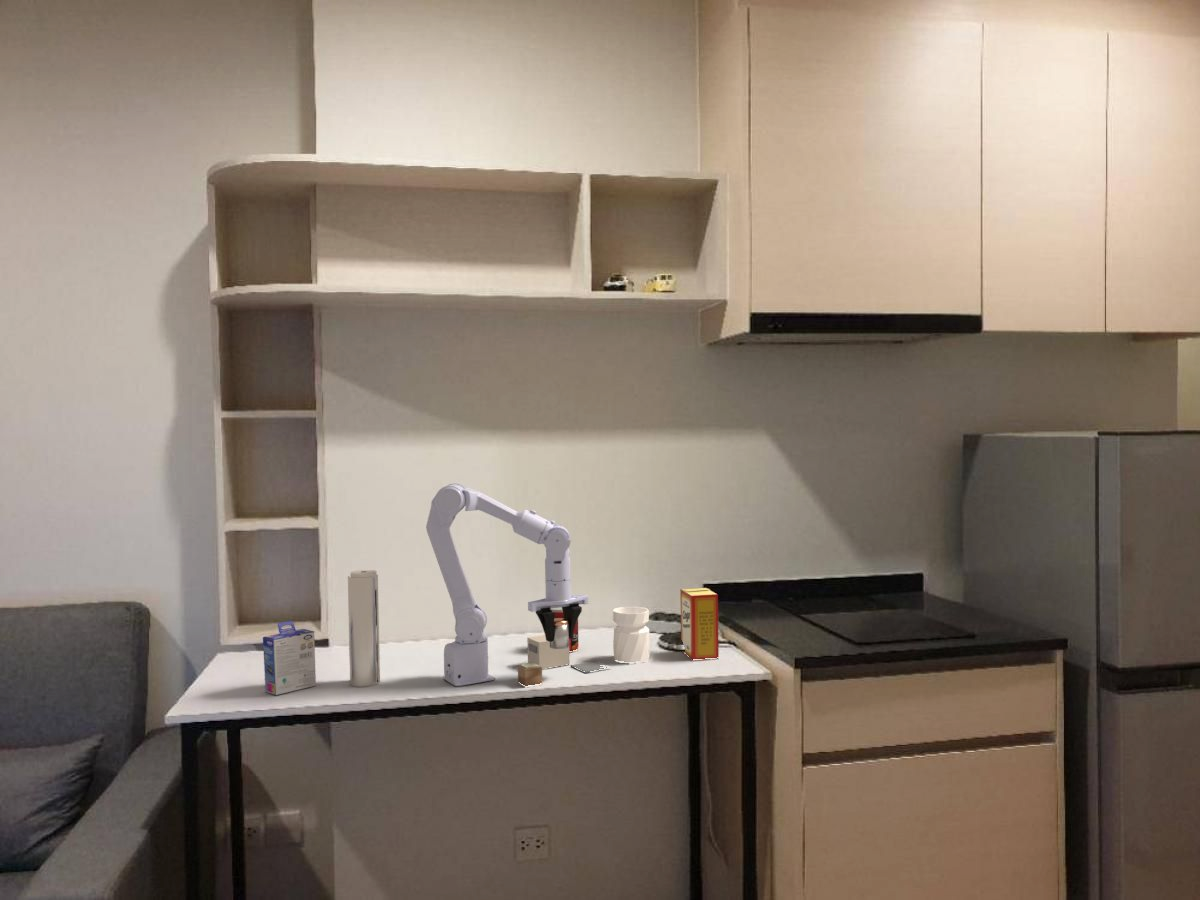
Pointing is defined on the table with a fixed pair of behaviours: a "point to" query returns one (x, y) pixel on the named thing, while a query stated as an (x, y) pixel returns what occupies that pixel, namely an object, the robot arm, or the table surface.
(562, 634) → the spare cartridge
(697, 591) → the red and yellow box
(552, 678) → the table surface
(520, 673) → the walnut block
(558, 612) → the canned food
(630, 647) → the white faceted vase
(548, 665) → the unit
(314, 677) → the ink cartridge box
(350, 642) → the beige tall cylinder
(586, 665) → the pad
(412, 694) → the table surface
